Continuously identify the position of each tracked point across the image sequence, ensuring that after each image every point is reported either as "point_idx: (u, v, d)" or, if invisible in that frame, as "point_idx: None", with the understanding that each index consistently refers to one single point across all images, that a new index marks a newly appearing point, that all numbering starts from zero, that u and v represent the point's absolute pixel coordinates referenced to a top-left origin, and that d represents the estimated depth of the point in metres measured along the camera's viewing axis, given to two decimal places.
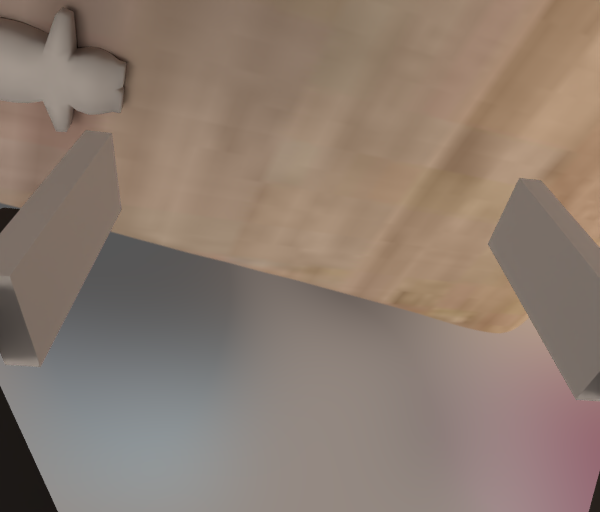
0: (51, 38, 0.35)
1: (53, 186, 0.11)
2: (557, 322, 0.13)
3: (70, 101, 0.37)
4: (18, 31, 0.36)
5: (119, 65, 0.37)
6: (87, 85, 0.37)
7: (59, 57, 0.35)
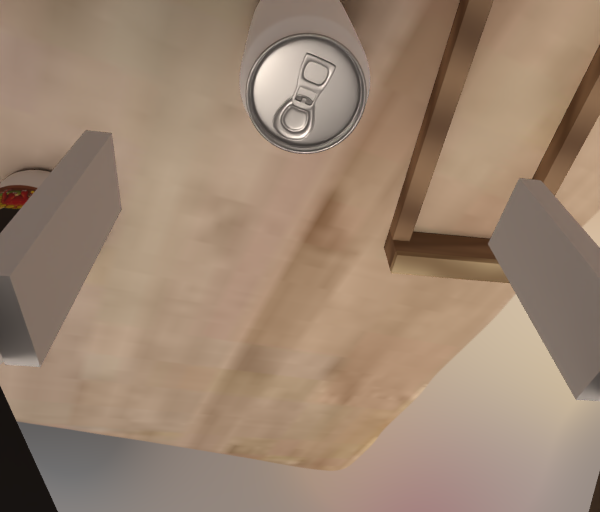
0: None
1: (53, 186, 0.11)
2: (557, 322, 0.13)
3: None
4: None
5: None
6: None
7: None
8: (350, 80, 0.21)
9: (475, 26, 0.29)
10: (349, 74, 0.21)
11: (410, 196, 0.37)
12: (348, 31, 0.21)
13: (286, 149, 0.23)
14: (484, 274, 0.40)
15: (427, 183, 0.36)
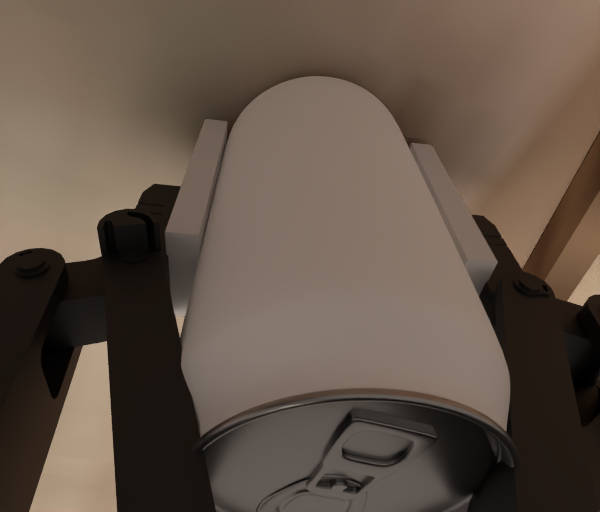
0: None
1: (200, 165, 0.13)
2: None
3: None
4: None
5: None
6: None
7: None
8: (473, 453, 0.08)
9: None
10: (473, 444, 0.07)
11: None
12: (470, 320, 0.07)
13: None
14: None
15: None
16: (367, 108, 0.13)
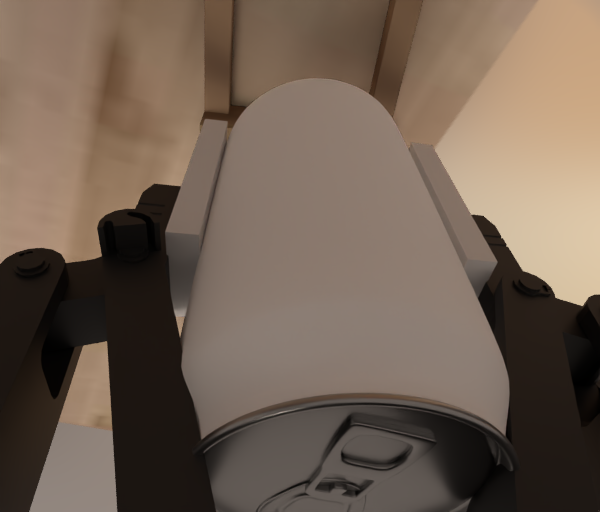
0: None
1: (200, 165, 0.13)
2: None
3: None
4: None
5: None
6: None
7: None
8: (472, 456, 0.08)
9: None
10: (472, 448, 0.07)
11: (210, 38, 0.27)
12: (469, 324, 0.07)
13: None
14: None
15: (228, 15, 0.26)
16: (367, 110, 0.13)
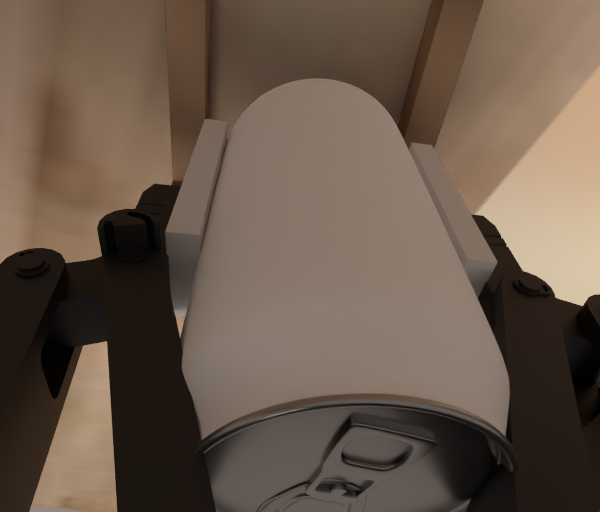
0: None
1: (200, 165, 0.13)
2: None
3: None
4: None
5: None
6: None
7: None
8: (472, 457, 0.08)
9: None
10: (472, 449, 0.07)
11: (176, 90, 0.20)
12: (469, 324, 0.07)
13: None
14: None
15: (200, 60, 0.19)
16: (367, 110, 0.13)
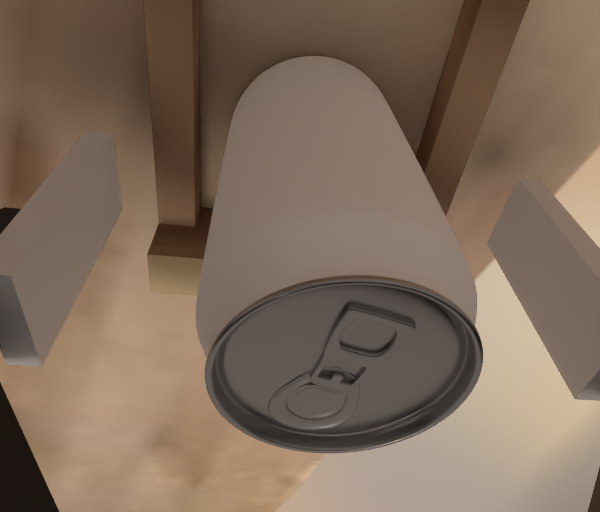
0: None
1: (54, 186, 0.11)
2: (555, 322, 0.13)
3: None
4: None
5: None
6: None
7: None
8: (445, 344, 0.09)
9: None
10: (444, 335, 0.09)
11: (160, 125, 0.17)
12: (441, 236, 0.09)
13: (297, 443, 0.11)
14: None
15: (188, 92, 0.16)
16: (358, 82, 0.15)
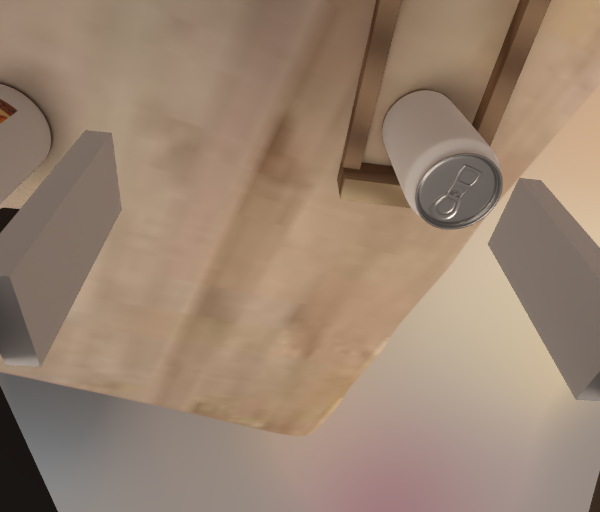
0: None
1: (53, 186, 0.11)
2: (556, 322, 0.13)
3: None
4: None
5: None
6: None
7: None
8: (490, 182, 0.30)
9: None
10: (490, 178, 0.30)
11: (357, 119, 0.38)
12: (490, 148, 0.30)
13: (435, 225, 0.32)
14: None
15: (373, 105, 0.37)
16: (449, 102, 0.36)
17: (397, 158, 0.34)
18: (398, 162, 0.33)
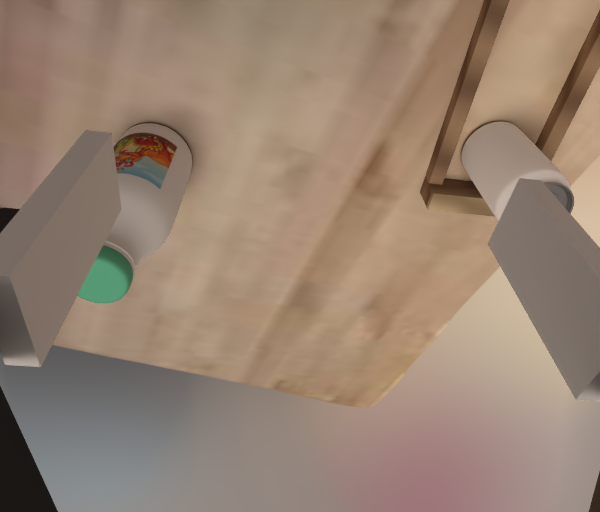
0: None
1: (53, 186, 0.11)
2: (557, 322, 0.13)
3: None
4: None
5: None
6: None
7: None
8: (564, 202, 0.40)
9: (499, 8, 0.39)
10: (564, 199, 0.39)
11: (444, 146, 0.47)
12: (564, 176, 0.39)
13: None
14: None
15: (458, 134, 0.46)
16: (521, 132, 0.45)
17: (485, 181, 0.43)
18: (486, 184, 0.43)
